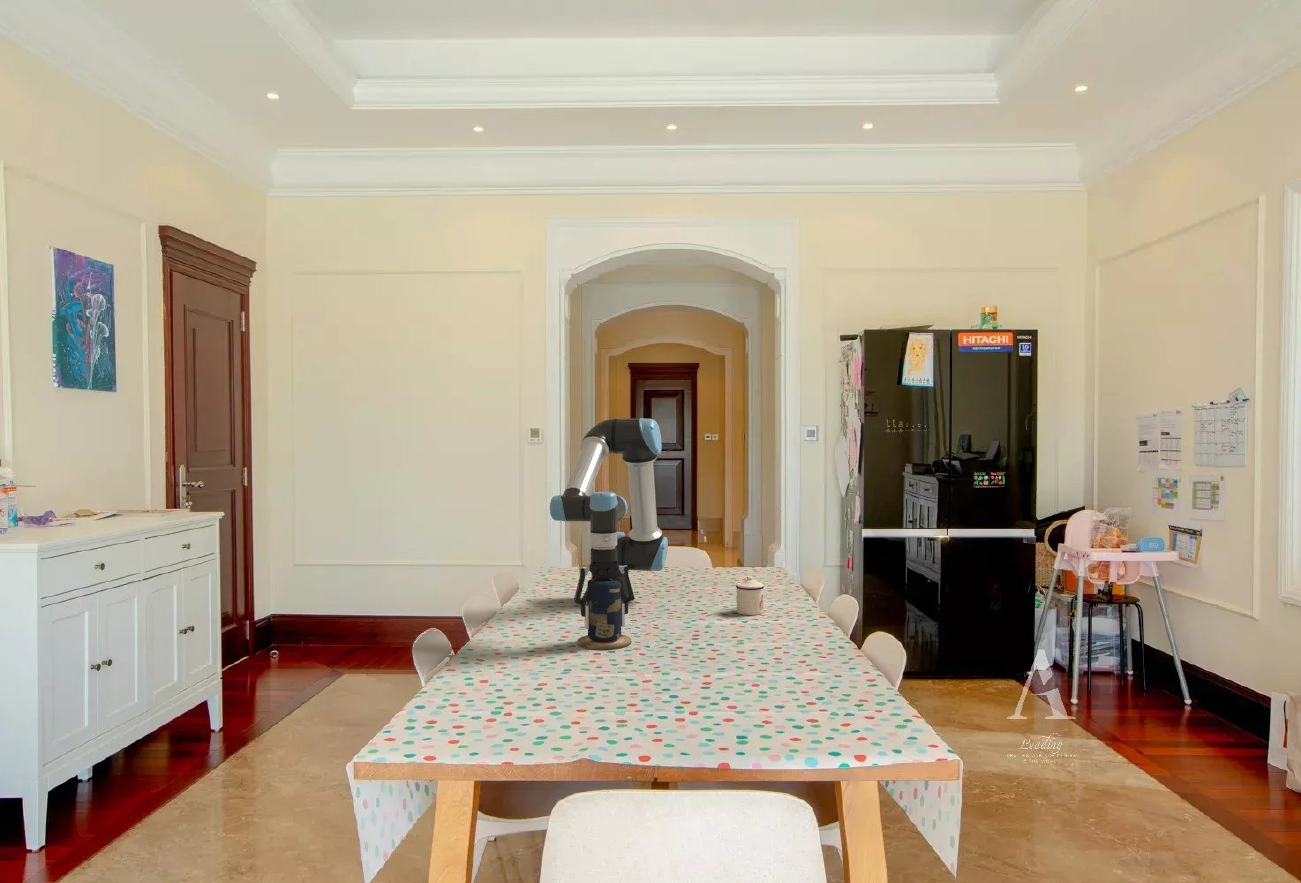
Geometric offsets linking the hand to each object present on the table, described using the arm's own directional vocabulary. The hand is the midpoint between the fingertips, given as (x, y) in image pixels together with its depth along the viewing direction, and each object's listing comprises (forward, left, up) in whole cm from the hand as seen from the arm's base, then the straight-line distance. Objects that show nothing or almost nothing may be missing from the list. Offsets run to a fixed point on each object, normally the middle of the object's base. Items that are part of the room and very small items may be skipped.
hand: (604, 626), depth 235 cm
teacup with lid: (+13, +57, -5) cm, 59 cm away
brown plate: (0, 0, -4) cm, 4 cm away
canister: (0, 0, -4) cm, 4 cm away
